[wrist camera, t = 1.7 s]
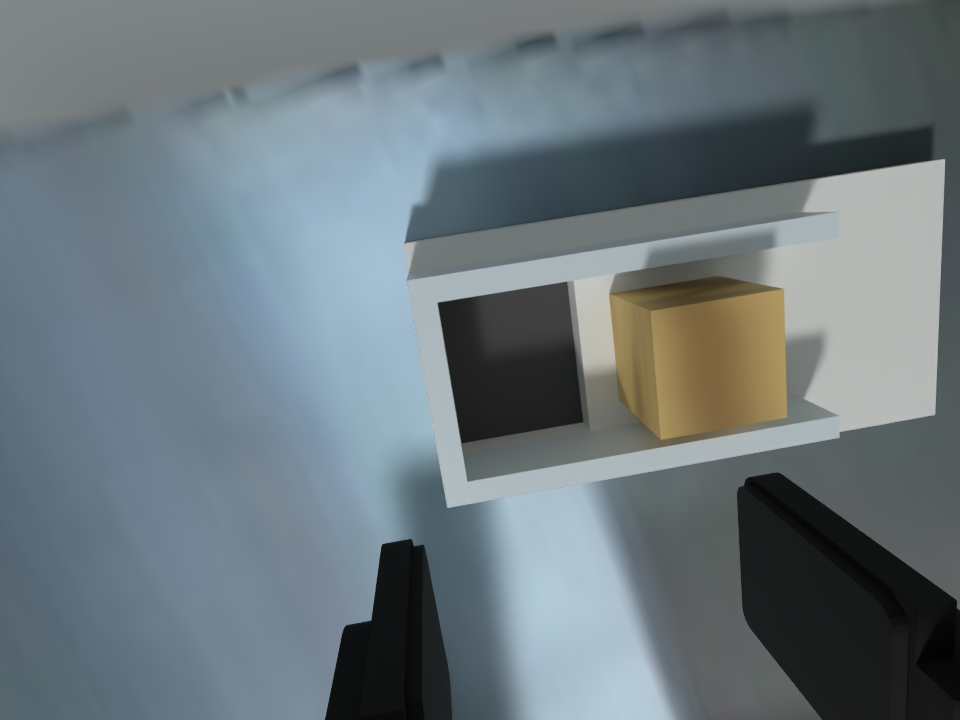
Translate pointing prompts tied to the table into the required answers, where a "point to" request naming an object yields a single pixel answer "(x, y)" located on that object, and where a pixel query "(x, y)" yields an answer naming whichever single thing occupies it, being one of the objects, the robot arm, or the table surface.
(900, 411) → the channel
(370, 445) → the table surface
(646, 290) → the block
